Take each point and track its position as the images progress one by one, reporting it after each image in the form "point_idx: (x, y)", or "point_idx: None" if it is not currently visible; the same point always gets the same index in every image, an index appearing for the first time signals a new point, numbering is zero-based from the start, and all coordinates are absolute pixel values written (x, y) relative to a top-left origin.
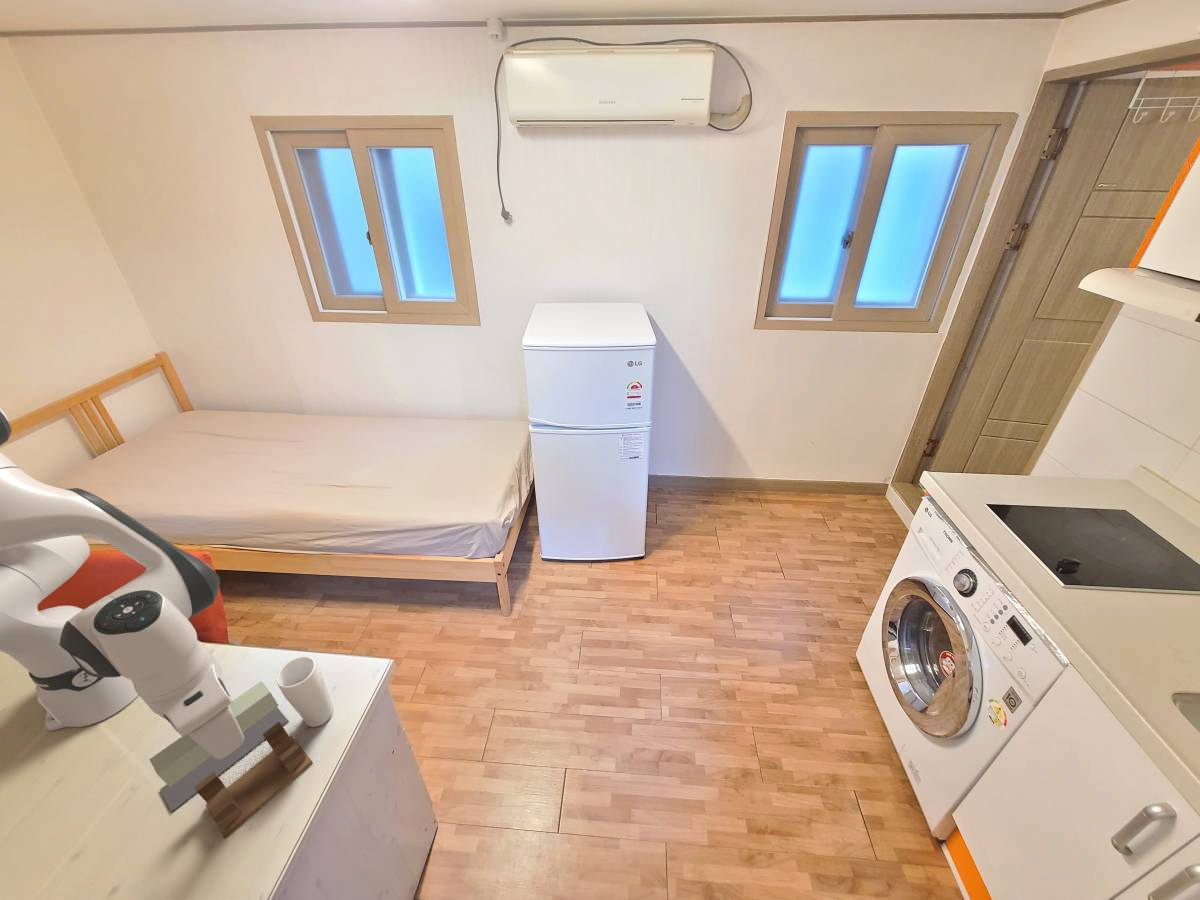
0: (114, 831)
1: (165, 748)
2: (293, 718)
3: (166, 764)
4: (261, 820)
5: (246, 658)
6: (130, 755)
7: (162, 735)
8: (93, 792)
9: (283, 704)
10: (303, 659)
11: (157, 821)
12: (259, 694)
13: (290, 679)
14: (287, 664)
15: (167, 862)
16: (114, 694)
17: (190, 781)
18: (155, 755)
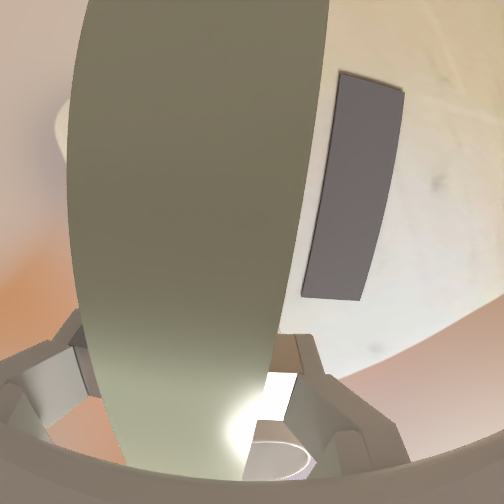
0: (395, 21)
1: (311, 95)
2: (298, 303)
3: (103, 37)
4: None
5: (470, 310)
6: (494, 119)
7: (485, 162)
8: (481, 59)
9: (344, 307)
10: (283, 470)
11: (347, 54)
12: None
13: None
14: (306, 460)
15: None
16: None
17: (368, 125)
18: (324, 16)
